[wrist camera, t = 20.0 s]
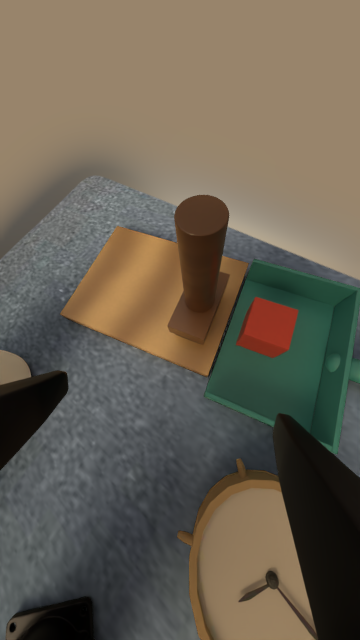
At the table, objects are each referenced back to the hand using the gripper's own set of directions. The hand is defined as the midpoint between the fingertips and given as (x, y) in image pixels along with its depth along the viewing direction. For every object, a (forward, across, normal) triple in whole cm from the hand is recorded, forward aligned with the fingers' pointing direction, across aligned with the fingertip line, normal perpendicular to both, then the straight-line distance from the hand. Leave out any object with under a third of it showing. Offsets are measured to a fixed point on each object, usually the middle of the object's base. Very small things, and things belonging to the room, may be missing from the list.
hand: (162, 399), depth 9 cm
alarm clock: (+5, -9, +17) cm, 20 cm away
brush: (+15, 0, 0) cm, 15 cm away
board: (+17, +6, -1) cm, 18 cm away
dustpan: (+15, -12, +3) cm, 19 cm away
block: (+15, -6, +1) cm, 17 cm away
